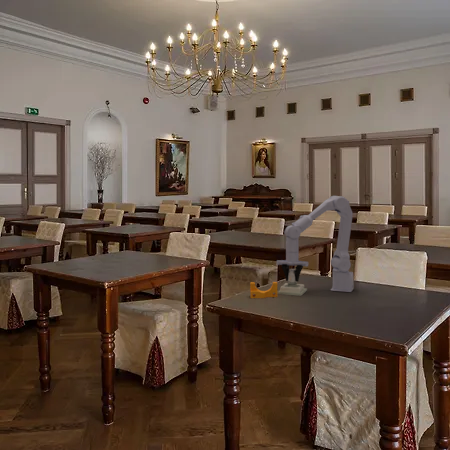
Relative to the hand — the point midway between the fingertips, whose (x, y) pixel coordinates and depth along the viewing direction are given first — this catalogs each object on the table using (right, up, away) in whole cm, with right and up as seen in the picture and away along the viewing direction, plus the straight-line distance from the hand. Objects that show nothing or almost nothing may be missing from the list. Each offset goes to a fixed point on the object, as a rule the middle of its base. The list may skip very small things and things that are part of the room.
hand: (292, 280), depth 227 cm
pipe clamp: (-14, -7, -8) cm, 17 cm away
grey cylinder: (0, -2, 0) cm, 2 cm away
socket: (0, -5, 0) cm, 5 cm away
